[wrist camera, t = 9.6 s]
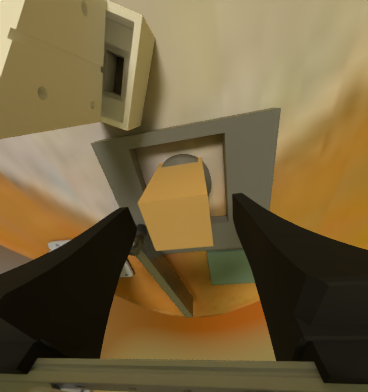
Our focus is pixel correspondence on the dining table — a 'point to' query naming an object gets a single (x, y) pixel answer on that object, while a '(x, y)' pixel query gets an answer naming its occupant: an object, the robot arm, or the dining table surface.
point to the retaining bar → (161, 270)
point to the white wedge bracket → (71, 65)
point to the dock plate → (233, 165)
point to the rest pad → (229, 267)
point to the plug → (178, 204)
